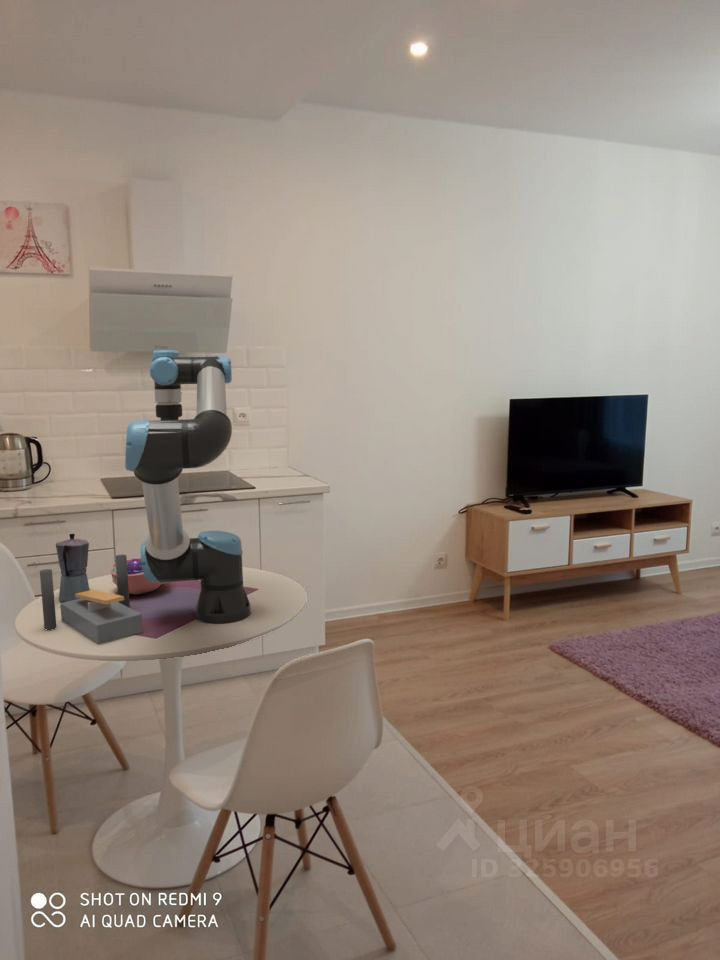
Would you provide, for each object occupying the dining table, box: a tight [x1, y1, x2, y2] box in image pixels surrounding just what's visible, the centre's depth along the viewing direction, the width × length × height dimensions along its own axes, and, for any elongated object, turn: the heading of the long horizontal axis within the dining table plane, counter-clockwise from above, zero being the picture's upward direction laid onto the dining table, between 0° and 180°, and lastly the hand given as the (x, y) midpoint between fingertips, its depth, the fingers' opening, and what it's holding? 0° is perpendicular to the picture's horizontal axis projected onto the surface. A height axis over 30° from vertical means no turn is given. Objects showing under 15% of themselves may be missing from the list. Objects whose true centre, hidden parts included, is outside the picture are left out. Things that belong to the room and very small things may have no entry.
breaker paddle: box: [75, 589, 124, 604], centre depth 201 cm, size 20×5×1 cm, turn 42°
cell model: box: [110, 557, 163, 596], centre depth 231 cm, size 17×20×11 cm
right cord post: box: [115, 554, 131, 608], centre depth 214 cm, size 3×3×16 cm
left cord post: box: [39, 568, 58, 631], centre depth 200 cm, size 3×3×16 cm
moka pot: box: [55, 533, 91, 603], centre depth 223 cm, size 10×15×20 cm, turn 10°
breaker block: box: [59, 599, 143, 645], centre depth 202 cm, size 24×12×7 cm, turn 43°
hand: (172, 483), depth 223 cm, fingers closed
